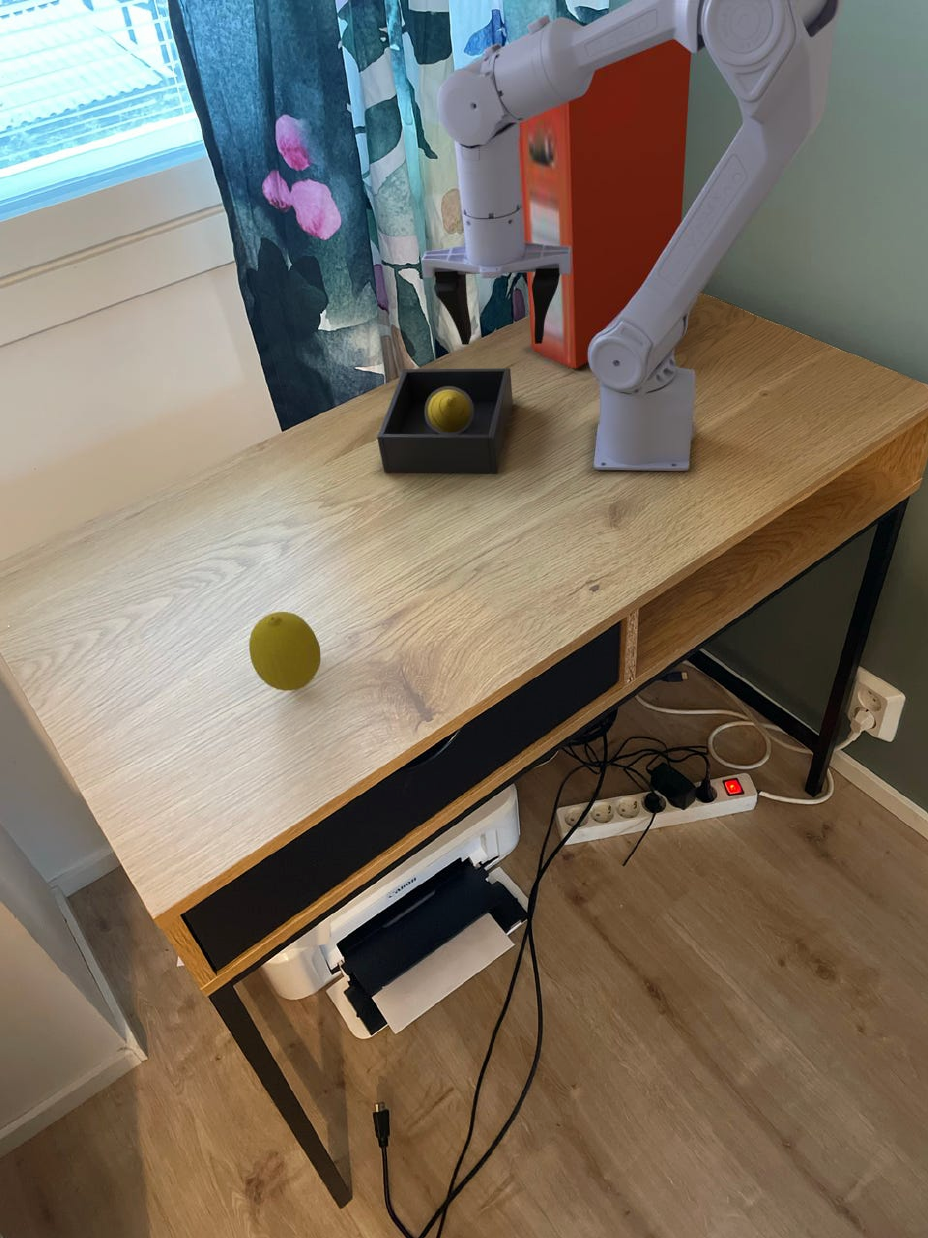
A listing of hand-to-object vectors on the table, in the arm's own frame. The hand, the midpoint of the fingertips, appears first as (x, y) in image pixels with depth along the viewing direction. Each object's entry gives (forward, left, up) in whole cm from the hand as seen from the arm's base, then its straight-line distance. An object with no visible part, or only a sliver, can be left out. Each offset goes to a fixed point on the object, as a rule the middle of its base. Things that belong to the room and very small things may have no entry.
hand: (502, 339), depth 94 cm
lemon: (+13, +40, -10) cm, 43 cm away
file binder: (-9, -19, -10) cm, 23 cm away
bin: (+6, +4, -9) cm, 12 cm away
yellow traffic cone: (+5, +4, -9) cm, 11 cm away
